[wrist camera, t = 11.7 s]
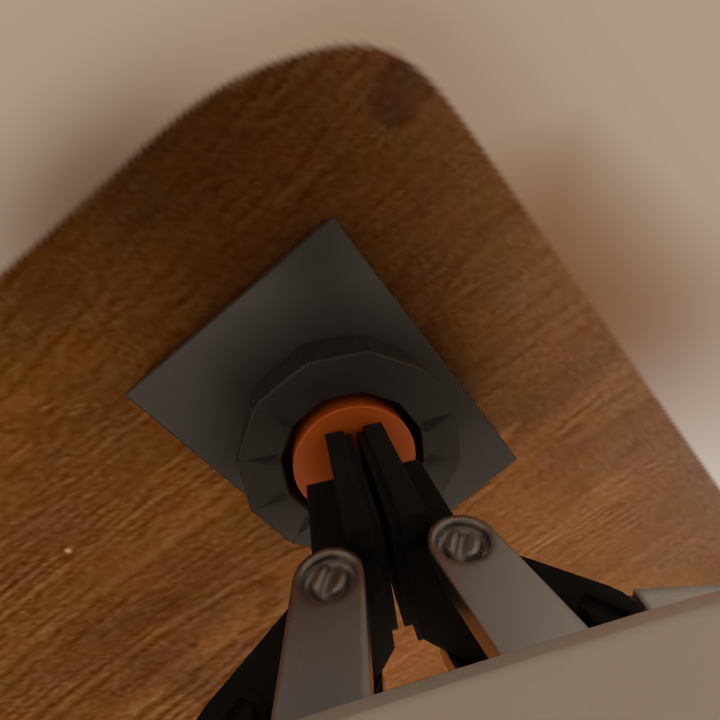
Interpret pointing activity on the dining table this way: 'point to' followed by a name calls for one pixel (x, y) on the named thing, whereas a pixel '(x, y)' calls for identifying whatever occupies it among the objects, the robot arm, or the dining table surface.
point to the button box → (314, 380)
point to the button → (350, 418)
